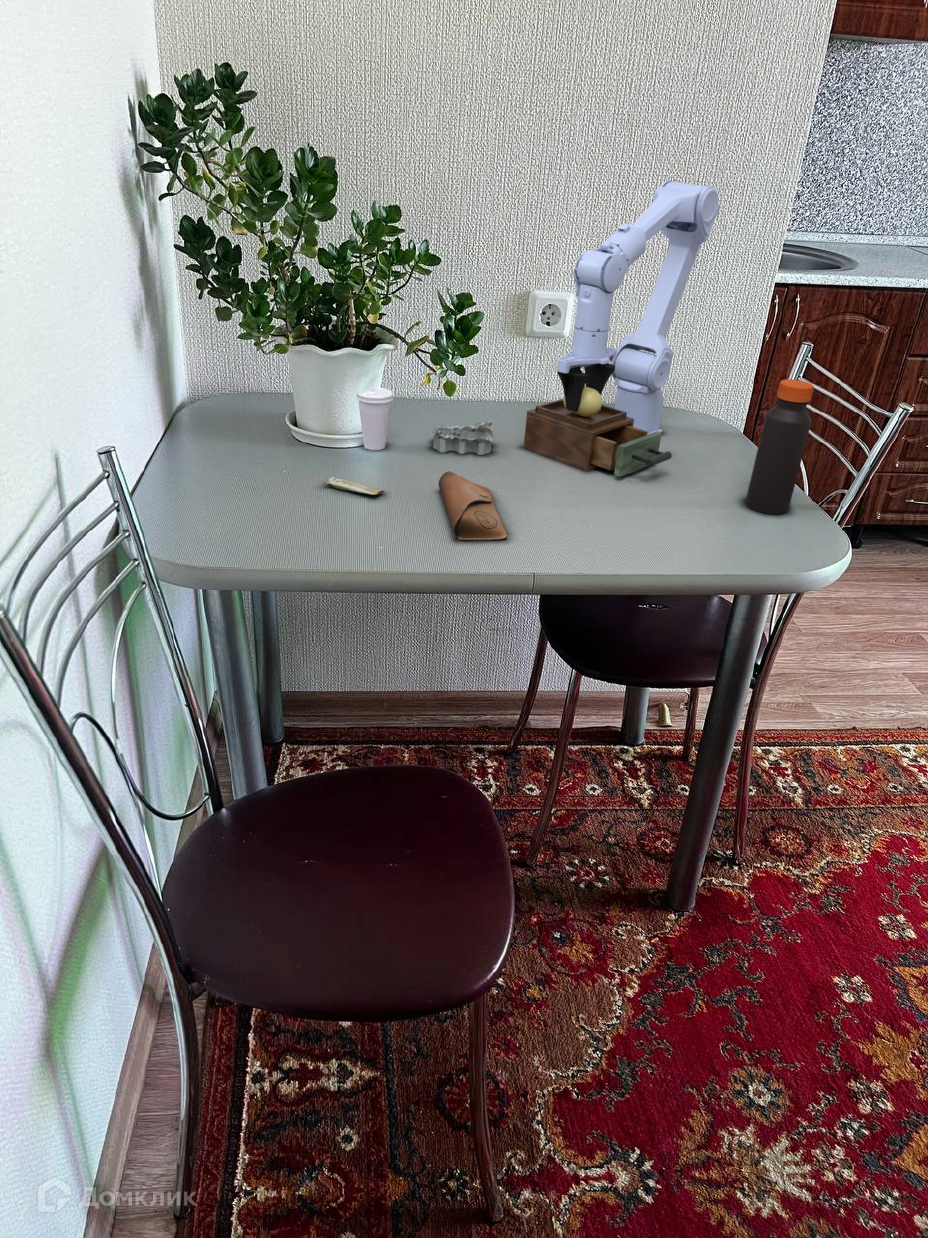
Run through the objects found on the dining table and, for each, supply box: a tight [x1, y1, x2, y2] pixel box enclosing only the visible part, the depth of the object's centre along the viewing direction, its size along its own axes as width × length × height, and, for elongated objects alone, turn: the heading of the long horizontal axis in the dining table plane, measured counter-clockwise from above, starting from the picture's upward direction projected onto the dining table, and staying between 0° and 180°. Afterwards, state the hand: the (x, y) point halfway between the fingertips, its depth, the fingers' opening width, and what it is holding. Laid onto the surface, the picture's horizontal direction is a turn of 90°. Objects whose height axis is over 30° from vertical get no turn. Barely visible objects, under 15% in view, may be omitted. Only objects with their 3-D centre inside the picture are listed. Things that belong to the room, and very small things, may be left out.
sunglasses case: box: [438, 470, 509, 542], centre depth 135 cm, size 18×7×7 cm, turn 9°
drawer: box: [591, 425, 673, 478], centre depth 155 cm, size 18×11×5 cm, turn 46°
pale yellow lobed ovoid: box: [562, 385, 603, 417], centre depth 157 cm, size 5×7×5 cm
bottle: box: [745, 378, 815, 515], centre depth 140 cm, size 7×7×20 cm
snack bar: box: [322, 476, 385, 496], centre depth 140 cm, size 10×2×3 cm
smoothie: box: [356, 382, 394, 451], centre depth 155 cm, size 6×6×14 cm
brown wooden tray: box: [534, 398, 627, 430], centre depth 158 cm, size 11×12×1 cm
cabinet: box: [523, 405, 634, 472], centre depth 160 cm, size 14×12×7 cm
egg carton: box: [432, 421, 494, 456], centre depth 160 cm, size 11×8×4 cm
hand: (581, 407), depth 158 cm, fingers closed on pale yellow lobed ovoid, 5 cm apart
